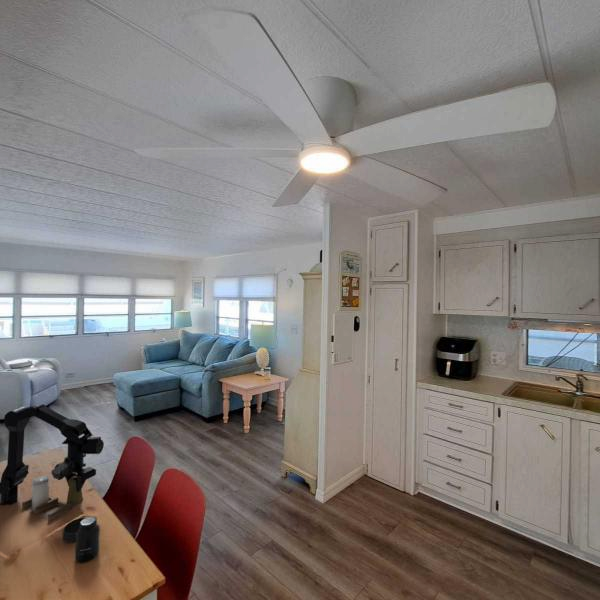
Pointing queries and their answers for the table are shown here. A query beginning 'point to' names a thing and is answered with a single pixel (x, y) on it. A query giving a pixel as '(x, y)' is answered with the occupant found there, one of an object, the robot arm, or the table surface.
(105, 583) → the table surface
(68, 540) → the black round bowl
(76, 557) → the supplement bottle
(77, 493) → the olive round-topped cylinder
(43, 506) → the walnut slot rack
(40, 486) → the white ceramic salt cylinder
